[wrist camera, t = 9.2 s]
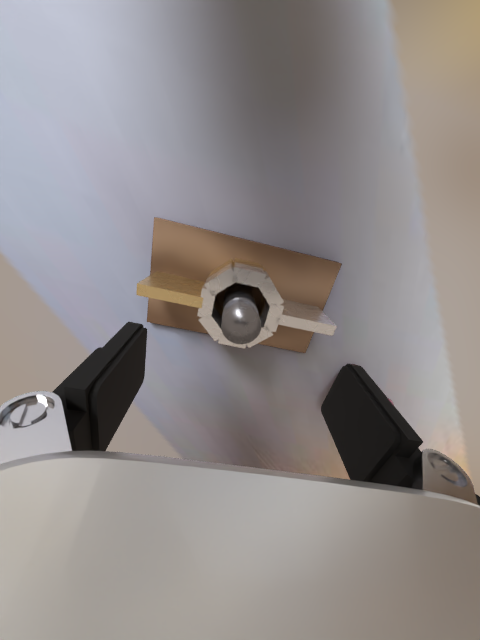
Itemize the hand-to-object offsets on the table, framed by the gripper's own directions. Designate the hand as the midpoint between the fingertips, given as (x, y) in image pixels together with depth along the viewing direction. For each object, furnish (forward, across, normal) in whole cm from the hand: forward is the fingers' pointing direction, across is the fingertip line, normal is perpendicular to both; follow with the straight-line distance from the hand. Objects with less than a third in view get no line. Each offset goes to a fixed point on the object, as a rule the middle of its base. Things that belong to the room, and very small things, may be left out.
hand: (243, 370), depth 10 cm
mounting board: (+15, 0, +1) cm, 15 cm away
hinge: (+15, 0, +1) cm, 15 cm away
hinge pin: (+14, 0, +1) cm, 14 cm away
